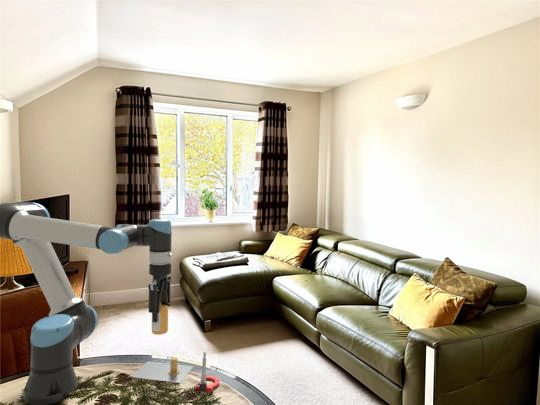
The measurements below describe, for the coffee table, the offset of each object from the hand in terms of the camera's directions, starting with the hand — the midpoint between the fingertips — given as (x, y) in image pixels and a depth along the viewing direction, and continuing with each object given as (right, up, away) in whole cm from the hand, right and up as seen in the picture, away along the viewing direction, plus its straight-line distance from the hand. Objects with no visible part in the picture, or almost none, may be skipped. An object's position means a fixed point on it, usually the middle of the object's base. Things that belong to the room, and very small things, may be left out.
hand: (159, 327), depth 131 cm
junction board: (+1, -17, 0) cm, 17 cm away
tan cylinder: (0, -2, 0) cm, 2 cm away
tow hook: (+17, -18, -5) cm, 26 cm away
